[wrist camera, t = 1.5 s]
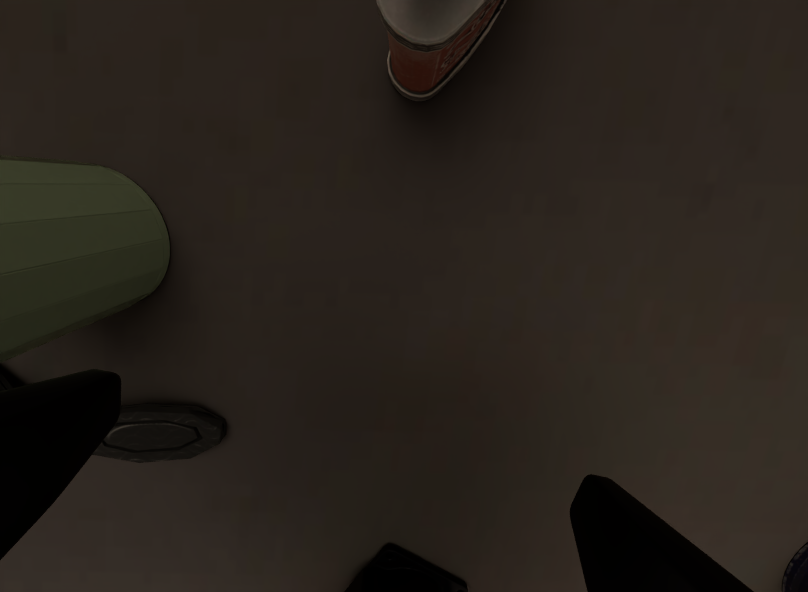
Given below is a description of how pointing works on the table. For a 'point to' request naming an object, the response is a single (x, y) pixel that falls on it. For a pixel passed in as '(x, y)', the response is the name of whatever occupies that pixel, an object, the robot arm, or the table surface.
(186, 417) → the hairbrush
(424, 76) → the lighter
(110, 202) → the pen cup
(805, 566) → the storage jar
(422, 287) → the table surface
